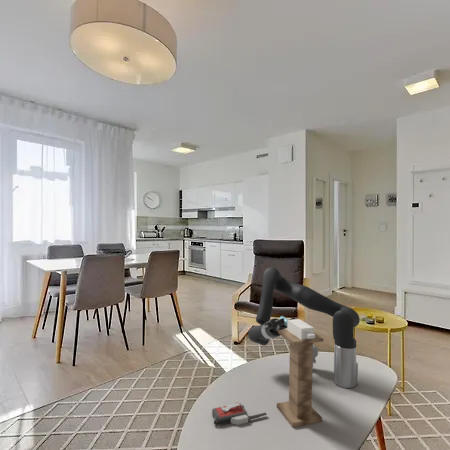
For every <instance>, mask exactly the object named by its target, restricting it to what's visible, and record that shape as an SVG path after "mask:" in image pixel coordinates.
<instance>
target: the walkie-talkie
mask: <svg viewBox="0 0 450 450" xmlns="http://www.w3.org/2000/svg"><path fill="white" fill-rule="evenodd" d="M247 413H248V411H247V410H246V409H245V406H244V405H243V404H242V403H240V402H234V403H233V402H232V403H229V404H227V405H223V406H218V407H214V408H212V409H211V414H212V416H211V417H212V418H213V420H214V421H213V424H214V426H222V425H226V424H232V425H238V426H239V425H242V424H243V425H244V424H247V423H249V421H251V420H254V419H258V418H261V417H264V416H267V412H261V413H257V414H253V415H248V414H247Z"/></svg>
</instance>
